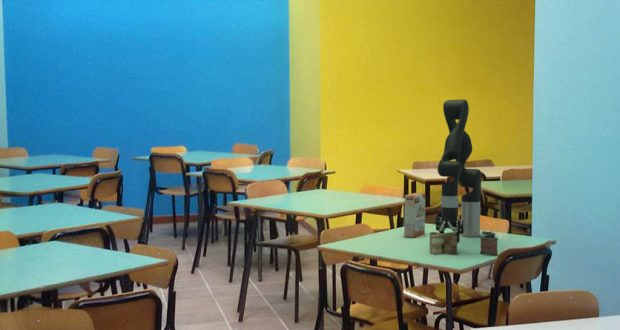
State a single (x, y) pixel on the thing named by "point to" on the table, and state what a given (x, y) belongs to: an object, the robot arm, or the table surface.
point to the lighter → (488, 244)
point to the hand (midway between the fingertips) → (449, 241)
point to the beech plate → (438, 242)
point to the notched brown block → (448, 244)
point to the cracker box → (414, 215)
